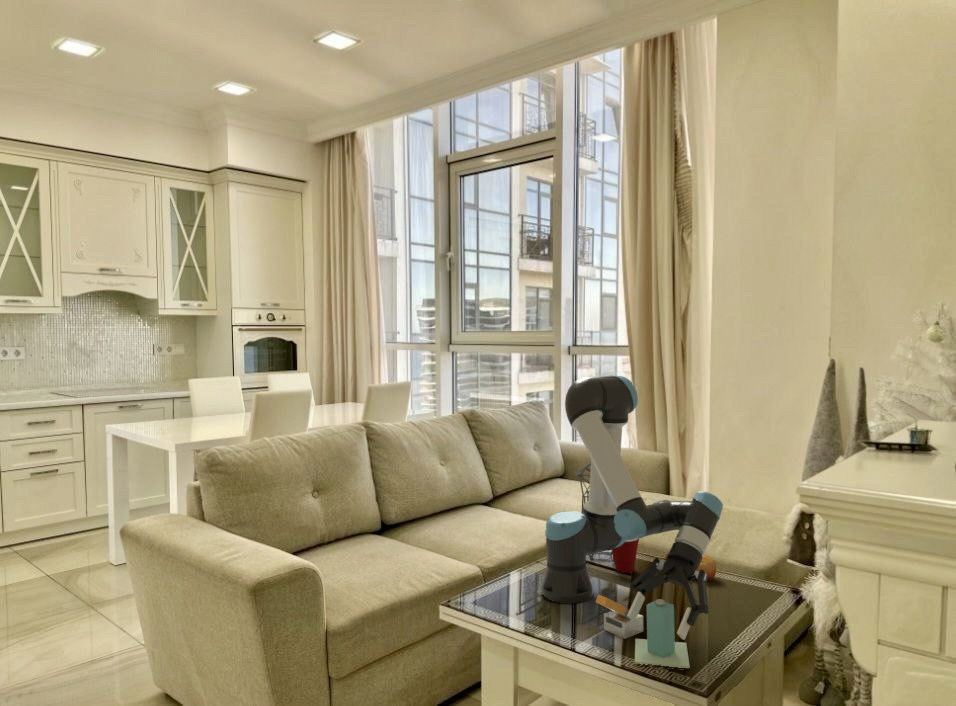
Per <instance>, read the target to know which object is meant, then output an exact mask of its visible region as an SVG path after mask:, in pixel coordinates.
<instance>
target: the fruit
mask: <svg viewBox="0 0 956 706" xmlns="http://www.w3.org/2000/svg"><path fill="white" fill-rule="evenodd" d="M702 557H703V558H702V561H701V563H700V566H699V568H698V569H697V571H700V570H704V571H705V573H706V574H707V576H708V579H707V581H713V580H714V578H715V577H716V574H717V565H716V562H715V560H714V559H713V558H711V557H710V556H708V555H706V554H704V555H702ZM694 579H695V580H697V578H696V577H695V578H694Z"/></svg>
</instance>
